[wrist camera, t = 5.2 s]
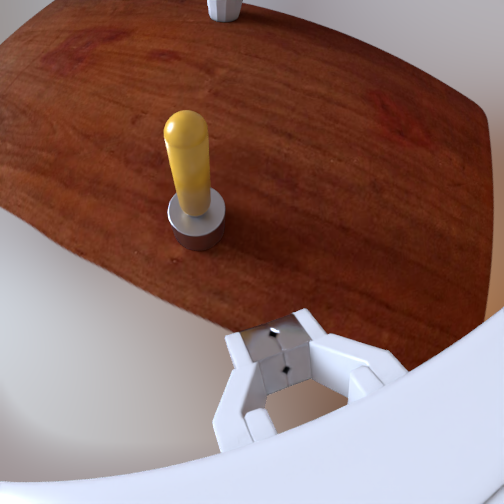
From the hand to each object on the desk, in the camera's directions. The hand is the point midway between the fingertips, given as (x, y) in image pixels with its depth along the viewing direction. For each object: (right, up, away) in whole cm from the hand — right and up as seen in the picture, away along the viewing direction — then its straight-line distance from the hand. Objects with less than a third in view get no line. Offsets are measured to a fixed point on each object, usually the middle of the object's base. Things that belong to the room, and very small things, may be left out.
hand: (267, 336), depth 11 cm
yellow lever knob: (-5, +5, +18) cm, 19 cm away
